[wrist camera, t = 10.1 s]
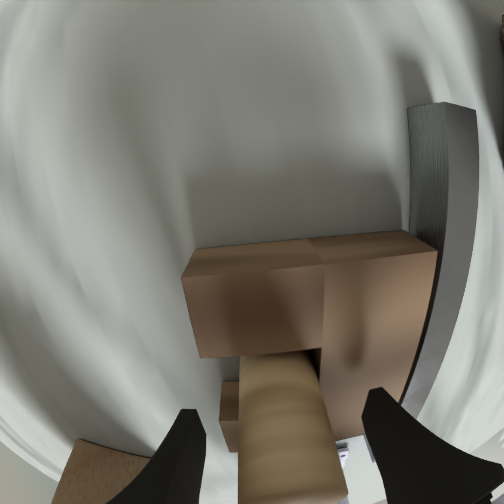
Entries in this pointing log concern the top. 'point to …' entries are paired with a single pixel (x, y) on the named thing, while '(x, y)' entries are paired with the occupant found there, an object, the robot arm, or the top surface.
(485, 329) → the top surface
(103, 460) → the wooden block
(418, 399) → the rail
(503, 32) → the rock
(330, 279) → the block
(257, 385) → the dowel
